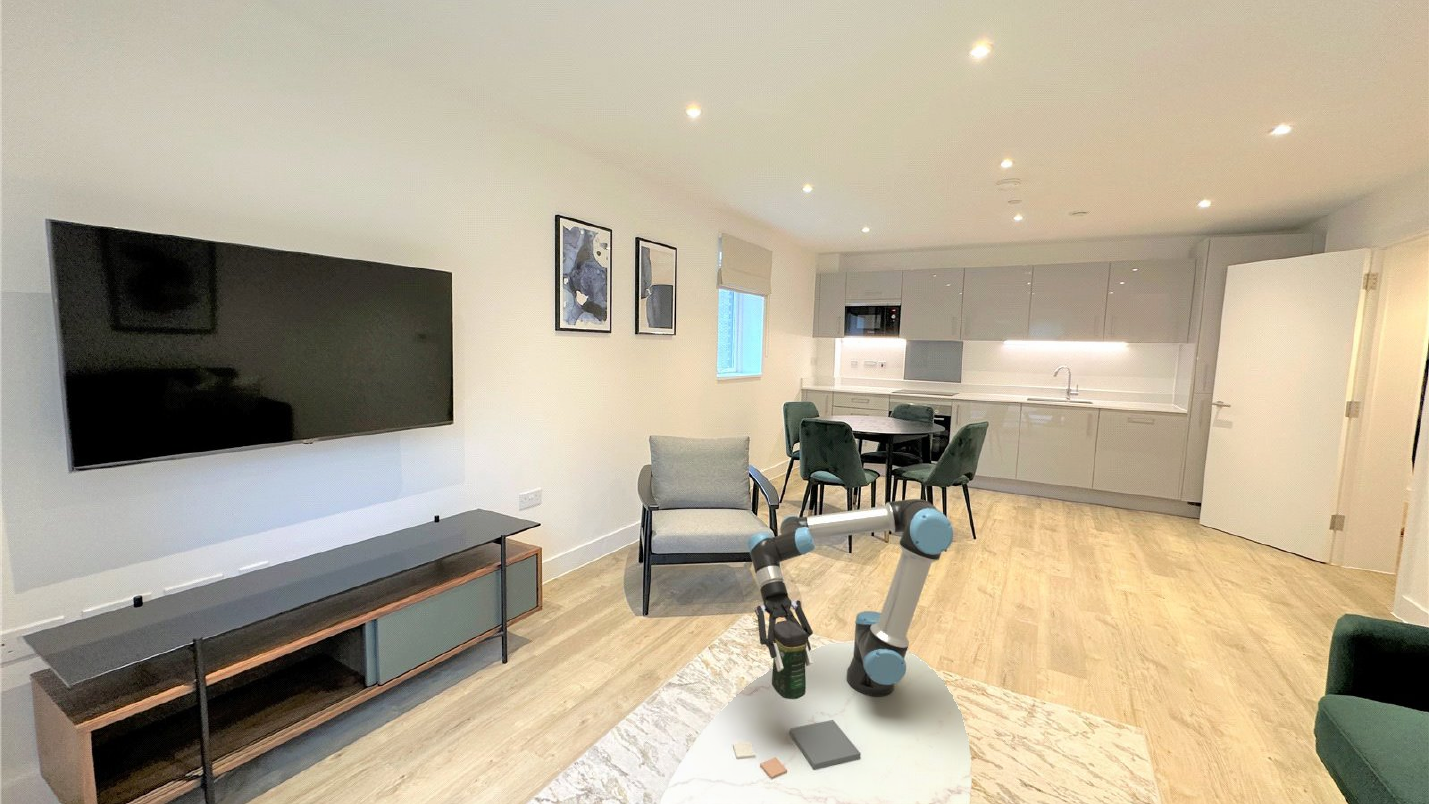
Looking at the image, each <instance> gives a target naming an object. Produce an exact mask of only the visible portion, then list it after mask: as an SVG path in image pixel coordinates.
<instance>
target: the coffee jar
mask: <svg viewBox="0 0 1429 804" xmlns="http://www.w3.org/2000/svg"><path fill="white" fill-rule="evenodd" d="M774 643H777V646H778V649H779V653H780V657H781V660H782V664H783V669H782V670H781V671H778V670H777V667H776V663H775V659H774V658H772V659H773V662H772V674H771V685H772V687H773V689H774V690H775V692H776V693H777V694H778V695H780V697H781V698H783V699H786V700H797V699H800V698H801V697H804V696H805V695H806V689H807V686H806V684H807V683H806V681H807V680H806V663H805V652H806V646H807V634H806V632H805V631H804V630H803V629H802V628H801V627H800V626H798V625H797V624H795V623H794V622H791V621H790V620H786V619H785V620H781V621H777V622H776V624H775V626H774V642H773V644H774Z"/></svg>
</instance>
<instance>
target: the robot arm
mask: <svg viewBox="0 0 1429 804" xmlns="http://www.w3.org/2000/svg"><path fill="white" fill-rule="evenodd" d="M953 529H954V528H953V526H952V524H951V522H950V521H949V519H948V517H947V516H946V515H945V514H944V513H943V512H941V511H940V510H939V509H937V507H936V506H935V505H934V504H932V503H931V502H930V501H927V500H924V499H921V498H912V499H911V498H910V499H902V500H895V501H888V502H886V503H885V505H883V506H876V507H868V508H860V509H855V510H845V511H841V512H840V511H839V512H834V513H833V512H832V513H827V514H826V513H824V514H819V515H811V516H802V517H799V516H797V515H793V514H791V515H787V516H785V517H784V518H783V519H782V521H781V523H780V534H779V535H777V536H774V537H772V536H771V535H770V534H769V533H768V532H762V533H759V532H758V533H756V534H753V535H752V536H750V538H749V539H748V541H747V545H748V549H749V555H750V558H751V562H752V565H753V566H752V567H753V569H754V573H755V577H756V581H757V584H758V587H759V588H760V589H759V591H760V595H761V599H762V602H763V605H757V607H756V608H755V609H754V612H755V615H756V617H757V625H758V634H759V635H758V637H759V643H760V645H762V646H763V645H765V646H766V647H767V648H768V651H769V655H770V658H771V659H773V658H774V659H775V663H776V667H777V670H778V671H781V670H782V669H783V664H782V660H781V657H780V653H779V649H778V646H777V643H774V626H775V624H776V623H777V622H776V621H777V619H779V618H780V619H782V618H784V619H785V620H790V621H791V622H794V623H795V624H797V625H798V626H800V627H801V628H802V629H803V630H804V631H805V632H806V634H807V646H806V652H805V667H810V666H811V665H812V664H813V659H812V657H811V653H810V652H811V650H812V648H811V644H810V640H809V638H810V637H811V636H812V635H813V634H814V631H813V629H812V627H811V625H810V623H809V620H808V618H807V617H806V615H805V613H804V611H803V608H802V602H801V600H799V599H798V600H796V601H792V600H791V599H790V597H789V594H788V590H787V586H786V582H784V577H783V573H782V569H781V567H780V564H779V563H781V562H785V561H787V560H790V559H794V558H797V557H800V556H802V555H803V556H804V555H806V554H809V553H811V552H812V551H814V550H815V548H816V545H815V542H814V540H822V539H828V538H835V537H845V536H846V537H847V536H853V535H860V534H861V535H862V534H868V533H870V534H871V533H875V532H877V533H878V532H884V531H890V532H891V533H893V534H894V533H895V534H896V533H902V535H901V537H900V539H899V540H900V541H899V543H898V544H899V546H900V549H901V550H902V551H901V554H900V557H899V560H898V563H897V566H896V569H895V571H894V575H893V578H892V581H891V584H890V586H889V590H887V591H888V592H887V595H886V598H885V600H884V603H883V606H882V609H881V612H878V611H874V610H873V611H872V610H871V611H870V610H865V611H860V612H858V613H857V614H856V617H855V625H854V626H855V627H854V642H853V643H854V645H853V656H852V659H851V661H850V664H849V666H848V668H847V669H846V682H847V683H848V684H849V686H850V687H851V688H852V689H854V690H855V691H857V692H858V693H861V694H864V695H867V696H871V697H884V696H887V695H890V694H891V693H892V692H893V691H894V690H895V684H897V683H899V682H900V681H902V679H903V678H904V677H905V675H906V672H907V663H906V660H905V657H906V654H907V651H908V649H909V646H910V640H909V638H908V637H907V635H908V632H909V628H910V626H911V623H912V620H913V618H914V614H915V612H916V609H917V606H918V603H919V601H920V597H921V594H922V592H923V588H924V586H925V583H926V580H927V578H928V575H929V571H930V568H931V566H932V564H933V563H935V562H937V561H939V560H940V557H941V555H942V553H943V552H945V551H947V550H948V549H949V548H950V546H951V545H952V542H953V539H954V530H953ZM791 607H792V610H794V612H793V611H792V610H791ZM765 612H766V613H767V614H769V618H768V630H767V628H766V619H765ZM794 613H795V615H796V617H797V618H796V617H795V615H794Z"/></svg>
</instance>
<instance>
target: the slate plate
mask: <svg viewBox="0 0 1429 804" xmlns="http://www.w3.org/2000/svg"><path fill="white" fill-rule="evenodd" d="M788 734H789V736H791V738H792V740H793V741H794V743H795V744H796V746H797V747H798V749H799V750H800V751H801V753H802V754H803V756H804V758H805V759H806V761H807V762H808V763H809V765H810V767H811V768H812V770H818V769H821V768H826V767H830V766H835V765H840V764H844V763H847V762H852V761H857V760H860V759H861V757H862V756H861V754H862V753H861V752H860V751H859V749H858V748H857V747H856V746H855V744H854V743H853V742H852V741H851V740H850V739H849V737H848V736H847V735H846V733H845V732H844V731H843V730H842V729H841V728H840V726H839V725H838V724H837V723H836V721H835V719H831V720H830V719H829V720H824V721H820V722H816V723H815V722H814V723H810V724H806V725H801V726H796V727H790V728H789V733H788Z"/></svg>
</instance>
